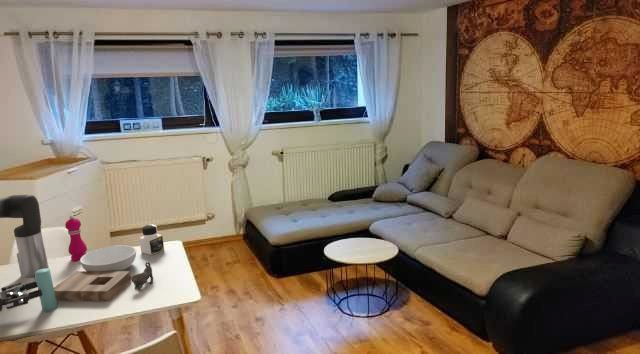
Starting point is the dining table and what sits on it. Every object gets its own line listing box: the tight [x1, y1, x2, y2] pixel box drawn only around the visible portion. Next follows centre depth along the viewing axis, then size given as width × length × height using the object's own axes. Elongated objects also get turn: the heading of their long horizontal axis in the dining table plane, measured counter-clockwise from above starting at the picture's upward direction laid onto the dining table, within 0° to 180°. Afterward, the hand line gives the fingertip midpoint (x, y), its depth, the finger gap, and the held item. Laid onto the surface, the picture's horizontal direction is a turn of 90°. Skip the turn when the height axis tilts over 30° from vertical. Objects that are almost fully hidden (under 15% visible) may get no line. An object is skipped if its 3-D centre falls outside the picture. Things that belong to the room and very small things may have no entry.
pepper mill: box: [64, 214, 88, 263], centre depth 205 cm, size 7×7×20 cm
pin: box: [34, 268, 59, 313], centre depth 163 cm, size 5×5×14 cm
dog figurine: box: [131, 261, 154, 291], centre depth 177 cm, size 12×6×7 cm, turn 169°
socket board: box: [53, 270, 132, 303], centre depth 176 cm, size 22×16×4 cm
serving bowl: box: [79, 244, 137, 271], centre depth 193 cm, size 21×21×7 cm
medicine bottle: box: [138, 224, 165, 256], centre depth 210 cm, size 7×7×12 cm
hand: (39, 287), depth 162 cm, fingers open, 8 cm apart
